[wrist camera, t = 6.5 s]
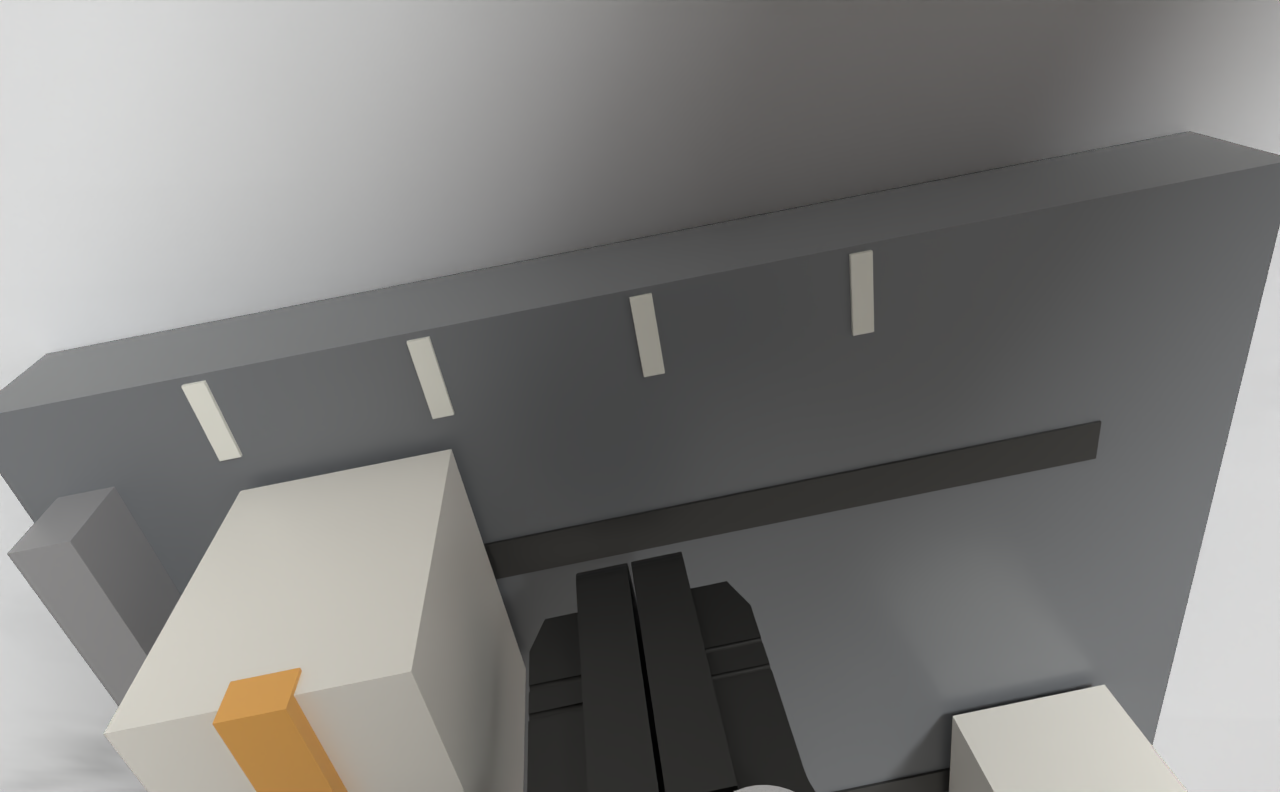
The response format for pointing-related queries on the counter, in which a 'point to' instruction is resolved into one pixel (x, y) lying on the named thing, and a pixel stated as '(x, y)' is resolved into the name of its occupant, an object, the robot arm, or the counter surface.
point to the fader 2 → (1056, 748)
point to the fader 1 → (335, 647)
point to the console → (741, 435)
